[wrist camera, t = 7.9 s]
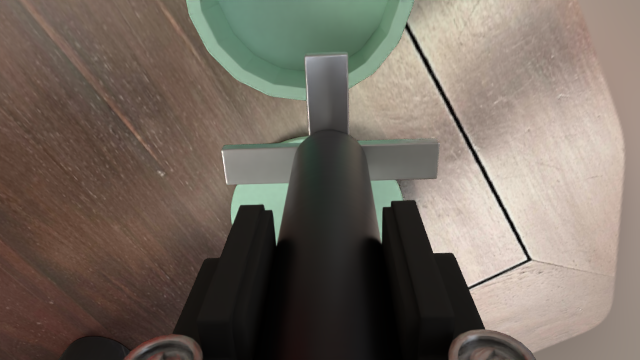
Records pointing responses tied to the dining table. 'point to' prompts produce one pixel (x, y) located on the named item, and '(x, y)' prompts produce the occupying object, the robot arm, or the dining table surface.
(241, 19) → the bowl
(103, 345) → the travel mug
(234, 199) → the lid
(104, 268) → the dining table surface
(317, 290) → the black and grey rod
